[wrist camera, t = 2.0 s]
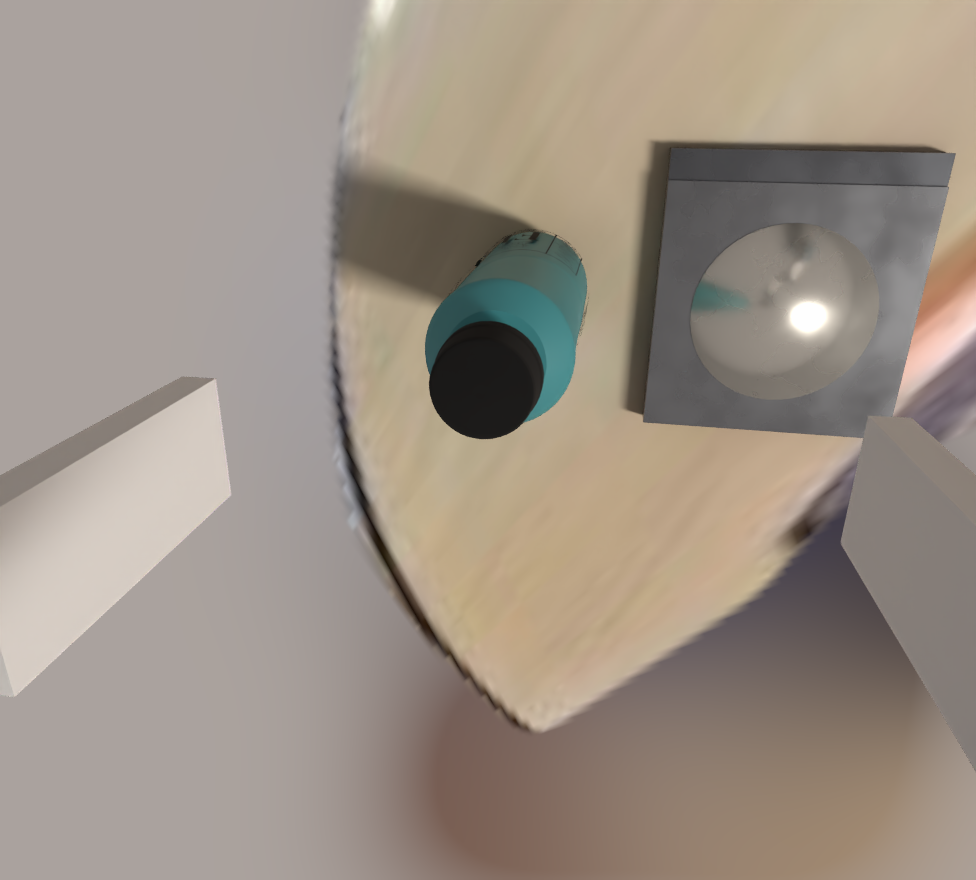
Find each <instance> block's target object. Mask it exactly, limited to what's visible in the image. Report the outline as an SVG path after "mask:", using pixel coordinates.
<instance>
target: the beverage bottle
mask: <svg viewBox="0 0 976 880" xmlns="http://www.w3.org/2000/svg"><path fill="white" fill-rule="evenodd" d="M534 230H536V229H528V230H526V231H534ZM521 231H522V230H521ZM542 231H543V230H542ZM546 232H547V231H546ZM514 233H515V232H514ZM517 233H518V231H517ZM550 233H551V232H550ZM509 235H510V234H509ZM513 235H514V234H513ZM555 235H556V234H555ZM511 236H512V235H510V236H508V237H506V236H505V237H506V238H505V237H504V238H505V239H504V241H503V242H501V243H500V244H499V245H498V246H497V247H495V248H494V250H493V251H492V252H491V253H490V254H489V253H488V254H489V255H488V254H487V255H488V256H487V257H486V258H485V259H484V260H483V261H482V260H479V261H478V262H477V264H476V265H475V266H477V267H476V268H475V269H474V270H473V271H472V272H471V274H470V275H469V276H468V277H467V278H466V279H465V280H464V281H463V282H462V283H461V284H460V285H459V287H458V288H457V289H456V290H455V291H454V292H453V293H451V294H450V295H449V296H448V297H447V298H446V299H445V300H444V301H443V302H442V303H441V305H440V306H439V307H438V309H437V310H436V312H435V313H434V315H433V317H432V319H431V321H430V324H429V327H428V330H427V334H426V341H425V355H426V363H427V367H428V371H429V374H430V380H429V390H430V396H431V399H432V403H433V405H434V407H435V409H436V411H437V413H438V414H439V416H440V417H441V419H442V420H443V421H444V422H445V423H446V424H447V425H448V426H450V427H451V428H452V429H454V430H455V431H456V432H458V433H460V434H462V435H465V436H468V437H472V438H477V439H493V438H497V437H501V436H504V435H507V434H509V433H511V432H512V431H514V430H515V429H517V428H518V427H519V426H520V425H521V424H523V423H524V422H527V421H530V420H533V419H535V418H537V417H539V416H541V415H542V414H543V413H545V412H546V411H548V410H549V409H550V408H551V407H553V406H554V405H555V404H556V403H557V401H558V400H559V399H560V398H561V397H562V395H563V394H564V392H565V391H566V389H567V387H568V385H569V383H570V380H571V377H572V374H573V371H574V365H575V354H576V352H575V350H576V344H577V338H578V334H580V333H579V330H580V326H581V324H582V323H581V322H582V317H583V311H584V305H585V299H586V294H587V279H586V274H585V270H584V267H583V265H582V263H581V260H582V258H581V260H580V259H579V258H578V256H577V254H576V253H575V252H574V251H573V249H572V248H571V247H569V246H568V245H567V244H568V243H569V242H568V243H567V242H566V243H565V242H564V241H563V240H560V239H558V238H556V236H558V235H556V236H555V237H554V236H552V235H549V234H546V233H541V232H525V233H520V234H517V235H514V236H512V237H511ZM501 240H502V239H501ZM565 241H566V240H565ZM497 243H498V242H497ZM569 244H570V243H569ZM570 245H571V244H570ZM575 250H576V249H575ZM485 256H486V255H484V256H483V257H485ZM580 257H581V256H580ZM481 259H483V258H481ZM481 261H482V262H481ZM480 262H481V263H480ZM460 280H461V279H460ZM458 283H459V282H458ZM456 284H457V283H456ZM457 285H458V284H457ZM451 291H452V290H451ZM588 299H589V297H588ZM587 304H588V303H587ZM586 310H587V309H586ZM584 313H585V312H584ZM585 316H586V315H585ZM583 318H585V317H583ZM584 323H585V322H584ZM581 330H583V329H581ZM580 332H581V331H580ZM581 333H582V332H581Z"/></svg>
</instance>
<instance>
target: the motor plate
mask: <svg viewBox="0 0 976 880" xmlns="http://www.w3.org/2000/svg"><path fill="white" fill-rule="evenodd" d="M955 154H956V153H929V152H874V151H820V150H765V149H711V148H670V157H669V166H668V176H667V186H666V195H665V205H664V215H663V224H662V234H661V244H660V253H659V263H658V273H657V282H656V292H655V301H654V311H653V321H652V330H651V340H650V350H649V359H648V369H647V379H646V388H645V398H644V408H643V422H647V423H661V424H675V425H689V426H703V427H717V428H731V429H745V430H759V431H773V432H787V433H801V434H815V435H829V436H843V437H857V438H864V433H865V429H866V424H867V419H868V416H885V417H892V416H893V412H894V408H895V404H896V400H897V396H898V392H899V388H900V384H901V379H902V375H903V371H904V367H905V363H906V359H907V355H908V351H909V347H910V343H911V339H912V335H913V331H914V327H915V323H916V319H917V315H918V311H919V307H920V303H921V299H922V295H923V291H924V286H925V282H926V278H927V274H928V270H929V266H930V262H931V258H932V254H933V250H934V246H935V242H936V238H937V234H938V230H939V226H940V222H941V218H942V214H943V210H944V206H945V202H946V197H947V193H948V189H949V187H948V183H949V179H950V175H951V170H952V166H953V162H954V158H955Z"/></svg>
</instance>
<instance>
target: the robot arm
mask: <svg viewBox="0 0 976 880" xmlns="http://www.w3.org/2000/svg"><path fill="white" fill-rule="evenodd" d="M230 496H231V488H230V481H229V473H228V467H227V459H226V452H225V444H224V436H223V429H222V421H221V414H220V407H219V399H218V392H217V384H216V379H215V378H198V377H181V378H179V379H177V380H175V381H173V382H172V383H169V384H168V385H166V386H164V387H162V388H160V389H158V390H157V391H155V392H153V393H151V394H149V395H147V396H146V397H144V398H142V399H140V400H138V401H136V402H134V403H133V404H131V405H129V406H127V407H126V408H123V409H122V410H120V411H118V412H116V413H114V414H112V415H111V416H109V417H107V418H105V419H103V420H101V421H100V422H98V423H96V424H94V425H92V426H90V427H89V428H87V429H85V430H83V431H81V432H79V433H78V434H76V435H74V436H72V437H70V438H68V439H66V440H65V441H63V442H61V443H59V444H57V445H55V446H54V447H52V448H50V449H48V450H46V451H44V452H43V453H41V454H39V455H37V456H35V457H33V458H31V459H30V460H28V461H26V462H24V463H22V464H20V465H19V466H17V467H15V468H13V469H11V470H9V471H8V472H6V473H4V474H2V475H0V695H2V696H11V697H15V696H16V695H17V694H18V693H19V692H20V691H21V690H22V689H24V688H25V687H26V686H27V685H28V684H29V683H30V682H31V681H32V680H33V679H34V678H35V677H37V676H38V675H39V674H40V673H41V672H42V671H43V670H44V669H45V668H46V667H47V666H48V665H49V664H50V663H51V662H53V661H54V660H55V659H56V658H57V657H58V656H59V655H60V654H61V653H62V652H63V651H64V650H65V649H67V647H69V646H70V645H71V644H72V643H73V642H74V641H75V640H76V639H77V638H78V637H79V636H81V635H82V634H83V633H84V631H86V630H87V629H88V628H89V627H90V626H91V625H92V624H93V623H95V622H96V621H97V620H98V619H99V618H100V617H101V616H102V615H103V614H104V613H105V612H106V611H107V610H108V609H110V608H111V607H112V606H113V605H114V604H115V603H116V602H117V601H118V600H119V599H120V598H121V597H122V596H123V595H125V594H126V593H127V592H128V591H129V590H130V589H131V588H132V587H133V586H134V585H135V584H136V583H137V582H139V580H141V579H142V578H143V577H144V576H145V575H146V574H147V573H148V572H149V571H150V570H151V569H152V568H154V566H156V565H157V564H158V563H159V562H160V561H161V560H162V559H163V558H164V557H165V556H166V555H168V554H169V553H170V552H171V551H172V550H173V549H174V548H175V547H176V546H177V545H178V544H179V543H180V542H181V541H183V540H184V539H185V538H186V537H187V536H188V535H189V534H190V533H191V532H192V531H193V530H194V529H195V528H197V527H198V526H199V525H200V524H201V523H202V522H203V521H204V520H205V519H206V518H207V517H208V516H209V515H210V514H212V513H213V512H214V511H215V510H216V509H217V508H218V507H219V506H220V505H221V504H222V503H223V502H224V501H225V500H226V499H228V498H229V497H230ZM841 545H842V546H843V548H844V550H845V552H846V553H847V555H848V557H849V558H850V560H851V562H852V563H853V565H854V567H855V568H856V570H857V572H858V574H859V575H860V577H861V579H862V580H863V582H864V584H865V585H866V587H867V589H868V590H869V592H870V594H871V595H872V597H873V599H874V601H875V602H876V604H877V606H878V607H879V609H880V611H881V612H882V614H883V616H884V617H885V619H886V621H887V622H888V624H889V626H890V628H891V629H892V631H893V632H894V634H895V636H896V638H897V639H898V641H899V643H900V644H901V646H902V648H903V650H904V651H905V653H906V655H907V656H908V658H909V660H910V661H911V663H912V665H913V666H914V668H915V670H916V671H917V673H918V675H919V677H920V678H921V680H922V682H923V683H924V685H925V687H926V688H927V690H928V692H929V693H930V695H931V697H932V699H933V700H934V702H935V703H936V705H937V707H938V709H939V710H940V712H941V714H942V715H943V717H944V719H945V720H946V722H947V724H948V725H949V727H950V729H951V731H952V732H953V734H954V736H955V737H956V739H957V741H958V742H959V744H960V746H961V747H962V749H963V751H964V753H965V754H966V756H967V758H968V759H969V761H970V763H971V764H972V766H973V768H974V770H975V771H976V475H975V474H974V473H973V472H972V471H971V470H969V469H968V468H967V467H966V466H965V465H964V464H963V463H962V462H960V461H959V460H958V459H957V458H956V457H955V456H954V455H952V454H951V453H950V452H949V451H948V450H947V449H946V448H945V447H944V446H942V445H941V444H940V443H939V442H938V441H937V440H936V439H935V438H933V437H932V436H931V435H930V434H929V433H928V432H927V431H926V430H924V429H923V428H922V427H921V426H920V425H919V424H918V423H917V422H915V421H914V420H913V419H912V418H902V417H885V416H868V419H867V424H866V429H865V433H864V438H863V442H862V447H861V452H860V456H859V461H858V465H857V470H856V475H855V479H854V484H853V488H852V493H851V498H850V502H849V507H848V511H847V516H846V521H845V525H844V530H843V534H842V539H841Z"/></svg>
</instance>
